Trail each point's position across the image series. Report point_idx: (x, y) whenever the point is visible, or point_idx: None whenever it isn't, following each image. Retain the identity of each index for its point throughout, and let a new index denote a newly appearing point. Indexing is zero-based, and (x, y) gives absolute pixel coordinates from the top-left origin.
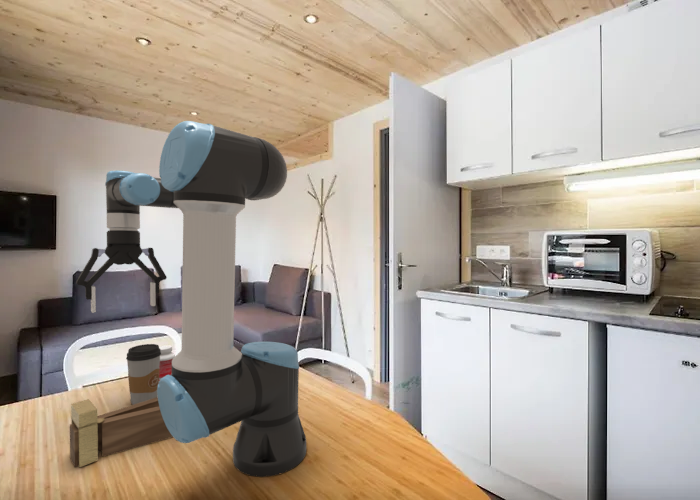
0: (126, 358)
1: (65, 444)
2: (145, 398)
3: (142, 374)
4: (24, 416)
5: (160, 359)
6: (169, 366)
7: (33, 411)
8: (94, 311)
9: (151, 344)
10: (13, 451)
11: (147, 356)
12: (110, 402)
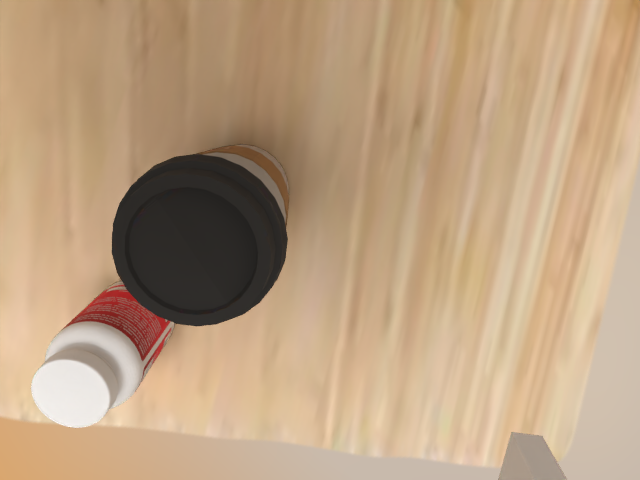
0: (285, 255)
1: (522, 42)
2: (249, 146)
3: (243, 159)
4: (548, 355)
5: (116, 336)
6: (96, 307)
7: (521, 374)
8: (525, 438)
9: (139, 292)
10: (631, 118)
11: (201, 161)
12: (335, 267)
